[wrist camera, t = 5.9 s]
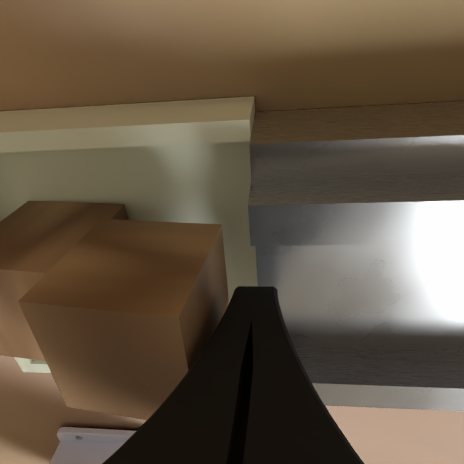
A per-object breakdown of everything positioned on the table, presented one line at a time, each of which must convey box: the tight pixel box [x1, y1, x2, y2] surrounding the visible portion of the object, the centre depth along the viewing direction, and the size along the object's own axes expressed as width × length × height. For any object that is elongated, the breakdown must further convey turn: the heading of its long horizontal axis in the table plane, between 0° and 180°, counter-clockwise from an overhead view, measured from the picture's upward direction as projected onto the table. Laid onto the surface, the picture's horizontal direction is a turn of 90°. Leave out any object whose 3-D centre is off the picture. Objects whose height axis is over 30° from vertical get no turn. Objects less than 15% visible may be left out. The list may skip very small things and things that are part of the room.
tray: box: [0, 96, 258, 373], centre depth 15 cm, size 11×11×2 cm
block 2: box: [18, 219, 229, 420], centre depth 11 cm, size 4×4×4 cm
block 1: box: [0, 201, 128, 361], centre depth 14 cm, size 4×4×4 cm
